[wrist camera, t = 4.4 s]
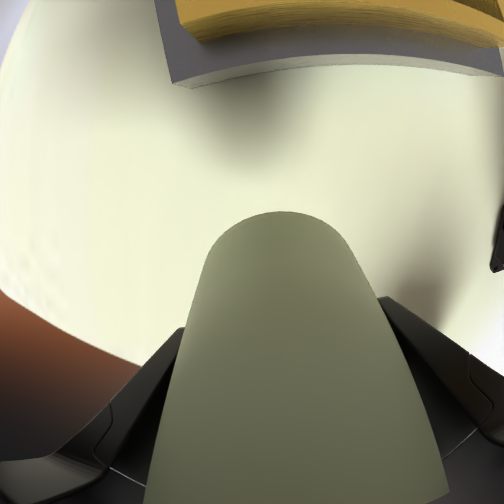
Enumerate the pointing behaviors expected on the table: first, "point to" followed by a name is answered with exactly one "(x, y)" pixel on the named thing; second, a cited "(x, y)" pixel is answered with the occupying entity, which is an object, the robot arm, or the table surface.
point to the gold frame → (327, 36)
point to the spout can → (291, 382)
